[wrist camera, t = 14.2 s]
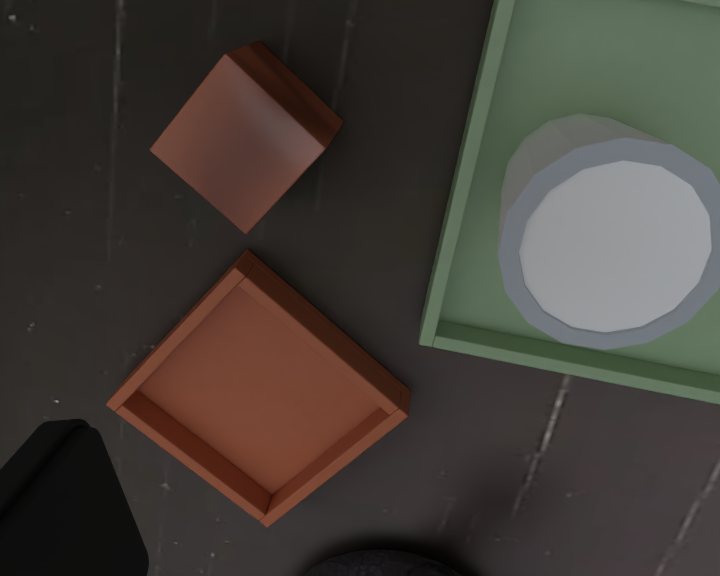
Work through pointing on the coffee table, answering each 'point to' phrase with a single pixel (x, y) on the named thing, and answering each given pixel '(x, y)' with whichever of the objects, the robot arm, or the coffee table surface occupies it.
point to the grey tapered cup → (607, 233)
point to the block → (247, 134)
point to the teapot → (380, 565)
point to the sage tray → (559, 99)
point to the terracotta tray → (261, 393)
